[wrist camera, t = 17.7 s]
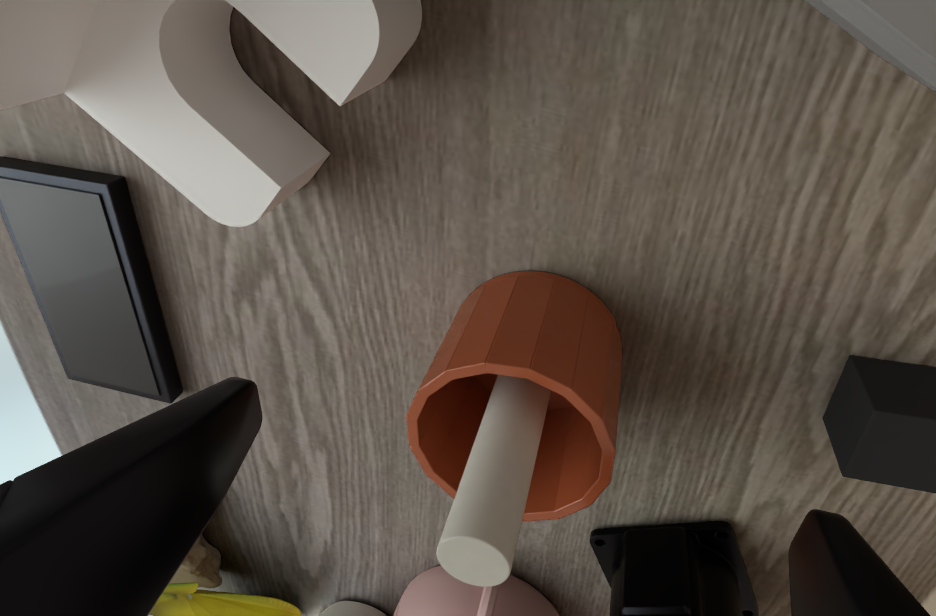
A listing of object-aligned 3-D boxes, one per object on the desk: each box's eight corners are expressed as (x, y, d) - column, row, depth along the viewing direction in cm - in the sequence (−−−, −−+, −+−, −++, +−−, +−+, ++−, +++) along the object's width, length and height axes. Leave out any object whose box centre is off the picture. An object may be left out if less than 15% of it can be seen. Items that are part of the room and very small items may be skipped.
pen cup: (642, 395, 24) (640, 513, 19) (491, 418, 27) (455, 527, 22) (591, 250, 22) (572, 344, 17) (429, 293, 24) (372, 385, 19)
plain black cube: (910, 432, 22) (942, 495, 20) (821, 417, 23) (842, 477, 20) (945, 368, 20) (985, 428, 18) (848, 354, 21) (874, 410, 19)
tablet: (0, 155, 26) (-23, 163, 26) (124, 176, 25) (105, 185, 24) (81, 367, 33) (65, 380, 32) (183, 392, 32) (170, 405, 31)
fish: (197, 652, 44) (330, 647, 43) (54, 617, 31) (241, 609, 30) (206, 610, 45) (335, 605, 45) (74, 561, 33) (251, 552, 32)
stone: (281, 550, 38) (162, 442, 35) (251, 601, 35) (118, 487, 32) (175, 595, 44) (67, 506, 42) (142, 641, 41) (24, 548, 39)
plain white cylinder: (567, 360, 24) (521, 586, 16) (520, 368, 25) (454, 588, 16) (550, 318, 23) (493, 534, 15) (503, 329, 24) (423, 539, 16)
